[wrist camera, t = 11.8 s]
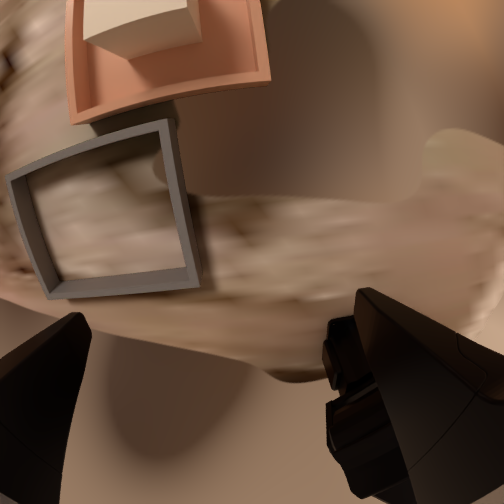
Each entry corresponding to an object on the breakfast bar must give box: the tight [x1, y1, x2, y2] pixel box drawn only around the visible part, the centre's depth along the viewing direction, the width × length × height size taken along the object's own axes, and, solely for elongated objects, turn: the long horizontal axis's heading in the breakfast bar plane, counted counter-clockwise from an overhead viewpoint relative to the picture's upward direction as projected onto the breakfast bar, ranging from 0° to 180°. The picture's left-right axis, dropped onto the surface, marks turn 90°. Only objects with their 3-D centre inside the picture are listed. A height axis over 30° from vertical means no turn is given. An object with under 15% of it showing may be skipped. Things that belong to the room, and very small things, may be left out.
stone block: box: [83, 0, 203, 60], centre depth 9 cm, size 5×5×6 cm
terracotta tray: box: [65, 0, 271, 125], centre depth 11 cm, size 12×12×2 cm
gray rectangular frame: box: [5, 118, 203, 300], centre depth 17 cm, size 14×11×2 cm
